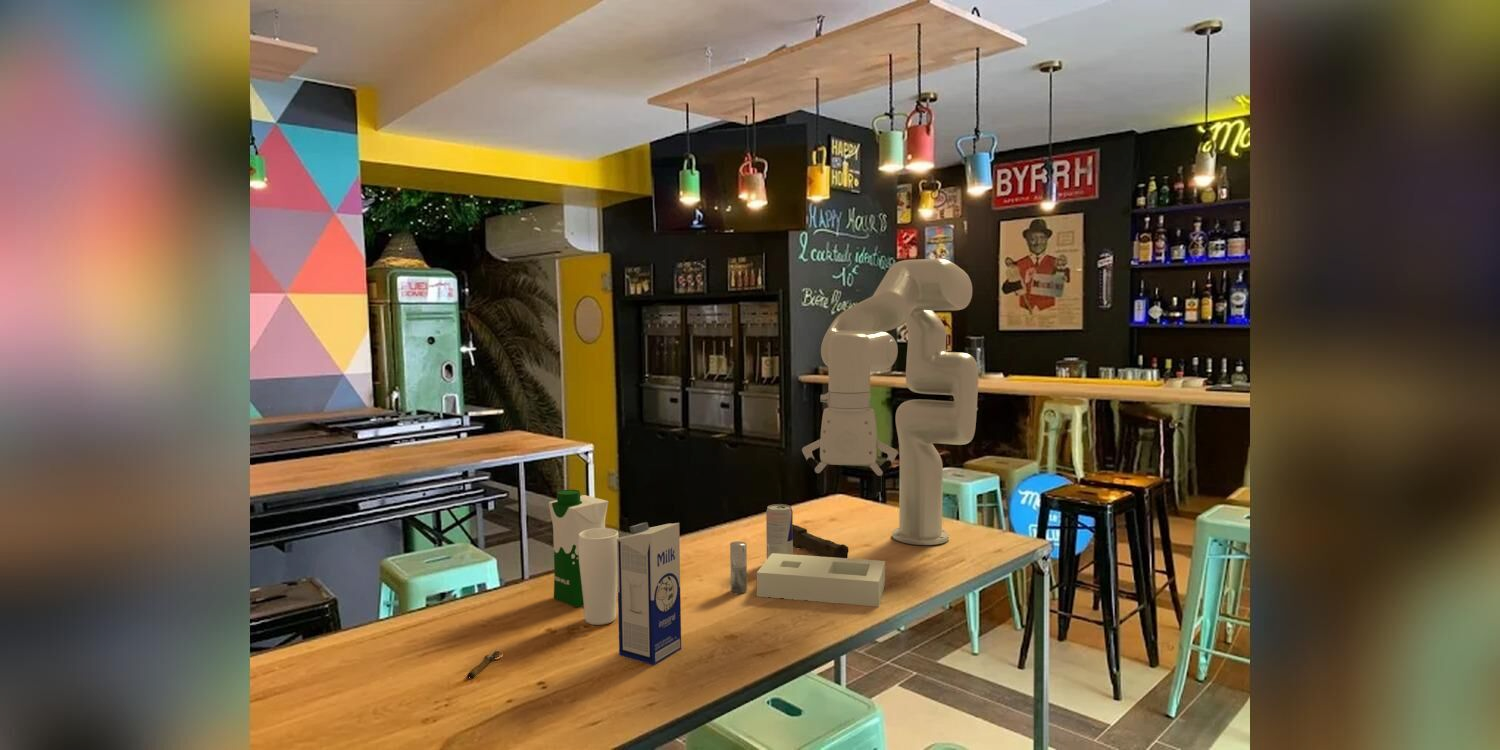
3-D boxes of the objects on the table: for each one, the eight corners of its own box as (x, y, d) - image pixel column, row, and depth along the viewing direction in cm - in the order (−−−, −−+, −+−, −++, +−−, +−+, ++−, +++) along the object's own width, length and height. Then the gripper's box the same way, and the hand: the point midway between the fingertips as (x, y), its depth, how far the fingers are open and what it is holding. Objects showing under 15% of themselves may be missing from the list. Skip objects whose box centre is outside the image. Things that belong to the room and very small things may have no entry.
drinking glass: (586, 631, 132) (584, 541, 130) (575, 617, 137) (573, 531, 136) (626, 623, 135) (624, 535, 133) (613, 610, 141) (611, 525, 139)
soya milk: (546, 598, 146) (543, 490, 145) (587, 586, 153) (585, 482, 151) (574, 610, 140) (571, 498, 139) (616, 597, 147) (613, 489, 145)
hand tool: (849, 562, 167) (849, 540, 166) (834, 565, 165) (834, 543, 164) (796, 541, 183) (796, 521, 182) (782, 544, 181) (782, 523, 180)
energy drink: (795, 562, 167) (795, 505, 166) (788, 570, 162) (788, 511, 161) (771, 559, 168) (770, 503, 167) (763, 567, 163) (762, 509, 162)
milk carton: (653, 665, 118) (650, 532, 117) (618, 655, 122) (615, 526, 120) (682, 648, 124) (680, 521, 123) (648, 639, 128) (645, 515, 126)
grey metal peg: (733, 587, 151) (732, 540, 151) (748, 589, 151) (748, 542, 150) (728, 593, 149) (728, 545, 148) (744, 594, 148) (744, 546, 147)
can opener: (473, 681, 115) (473, 673, 115) (459, 679, 115) (458, 671, 115) (508, 655, 123) (508, 647, 123) (495, 653, 124) (494, 646, 124)
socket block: (772, 575, 158) (771, 553, 158) (885, 584, 153) (885, 560, 152) (757, 596, 147) (756, 572, 146) (878, 606, 141) (878, 581, 141)
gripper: (798, 402, 144) (798, 496, 146) (896, 404, 140) (895, 501, 141) (806, 398, 151) (806, 488, 153) (899, 400, 147) (898, 492, 148)
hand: (849, 494), depth 147 cm, fingers open, 9 cm apart
